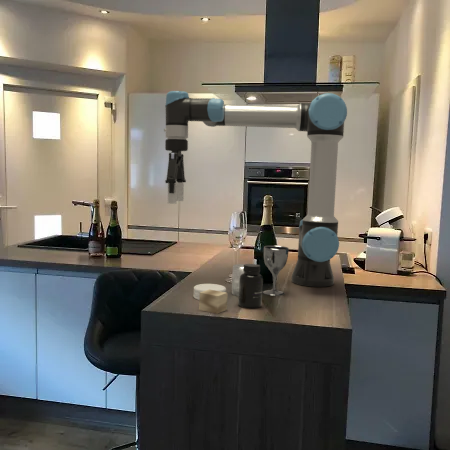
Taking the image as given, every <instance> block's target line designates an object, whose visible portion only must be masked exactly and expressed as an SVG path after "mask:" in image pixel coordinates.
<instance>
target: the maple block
mask: <svg viewBox="0 0 450 450" xmlns="http://www.w3.org/2000/svg"><path fill="white" fill-rule="evenodd" d="M198 303H199V304H198V310H199V311H203V312H208V313H210V314H211V313H212V314H217V315H218V314H220V313H222V312H224V311H228V308H227V307H228V292H227V291H225V292H221V291H215V290H210V289H209V290H206V291H203V292H200V298H199V300H198Z"/></svg>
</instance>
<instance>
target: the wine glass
mask: <svg viewBox="0 0 450 450" xmlns="http://www.w3.org/2000/svg"><path fill="white" fill-rule="evenodd" d="M288 257H289V247H287V246H284V245H265V246H264V247H263V260H264V264H265V266H266V267H267V268H268V270H269V271H270V273H271V274H272V282H273V283H272V288H271V289H267V290H262V294H264V295H268V296H274V297H275V296H284V295H285V294H286V293H285V292H284V291H281V290H277V289H276V285H277V284H276V283H277V277H278V276H279V273H281V271H282V270H283V269H284V268H285V267H286V265H287V262H288Z"/></svg>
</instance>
